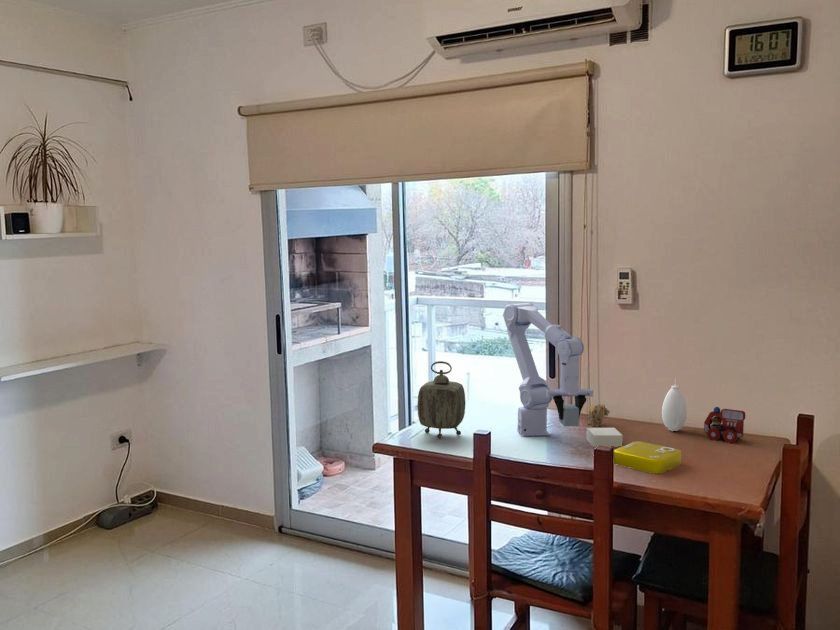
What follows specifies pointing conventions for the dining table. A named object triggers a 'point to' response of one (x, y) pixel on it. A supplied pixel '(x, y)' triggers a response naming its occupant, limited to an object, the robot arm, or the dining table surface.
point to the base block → (604, 437)
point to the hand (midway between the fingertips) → (568, 418)
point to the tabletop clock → (441, 403)
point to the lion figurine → (597, 414)
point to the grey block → (570, 415)
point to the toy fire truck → (725, 424)
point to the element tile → (647, 457)
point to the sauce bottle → (674, 409)
